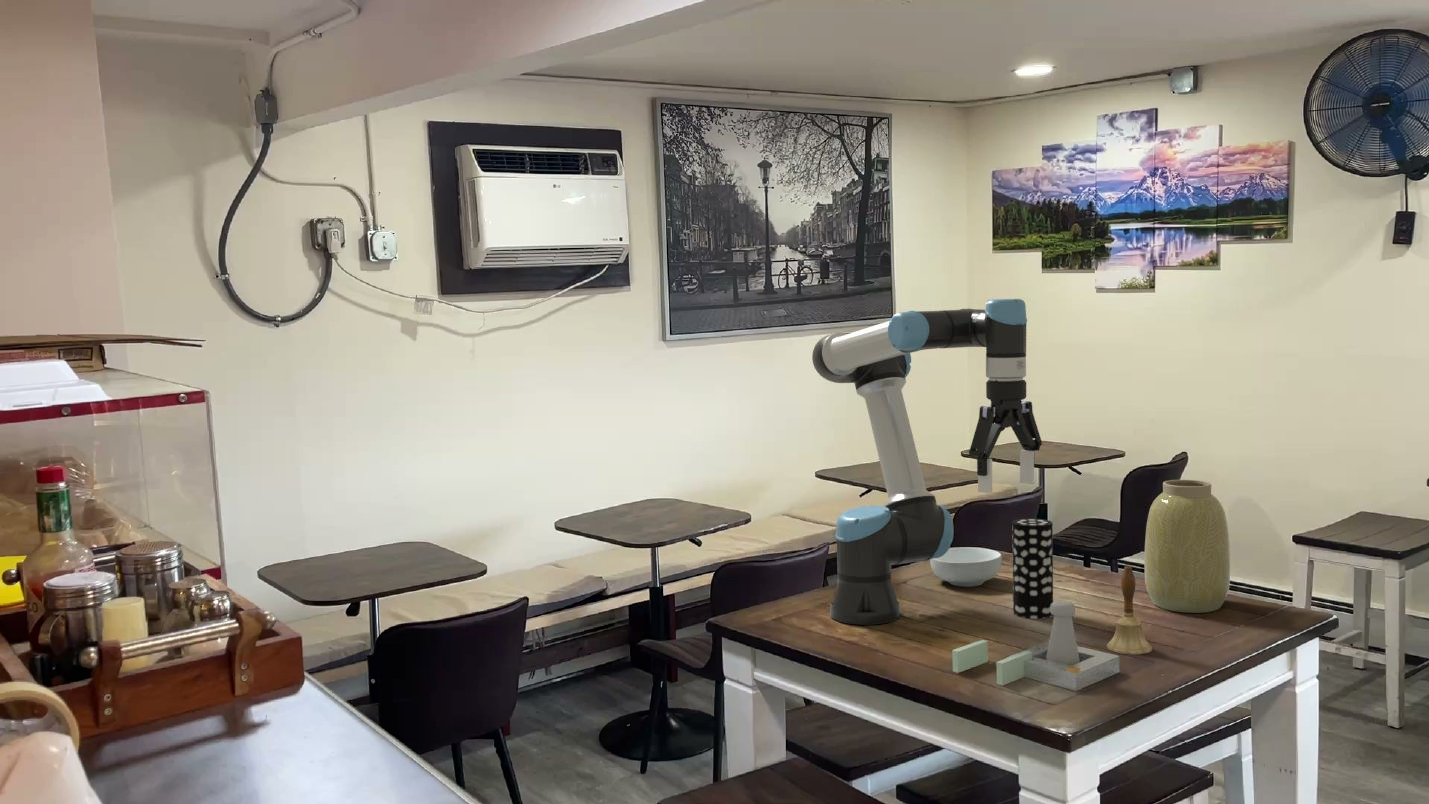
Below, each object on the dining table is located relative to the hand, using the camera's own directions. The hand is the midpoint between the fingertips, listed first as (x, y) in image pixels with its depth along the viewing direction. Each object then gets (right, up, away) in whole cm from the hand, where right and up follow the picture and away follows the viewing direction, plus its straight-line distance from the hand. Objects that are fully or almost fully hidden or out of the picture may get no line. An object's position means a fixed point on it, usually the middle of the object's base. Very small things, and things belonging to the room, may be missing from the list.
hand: (1006, 487), depth 218 cm
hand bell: (+23, -31, -2) cm, 39 cm away
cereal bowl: (+4, -27, +52) cm, 59 cm away
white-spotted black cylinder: (+12, -29, +24) cm, 40 cm away
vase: (+46, -28, +26) cm, 60 cm away
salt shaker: (+7, -33, -14) cm, 36 cm away
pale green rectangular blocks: (-6, -33, -13) cm, 36 cm away
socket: (+7, -32, -15) cm, 36 cm away
